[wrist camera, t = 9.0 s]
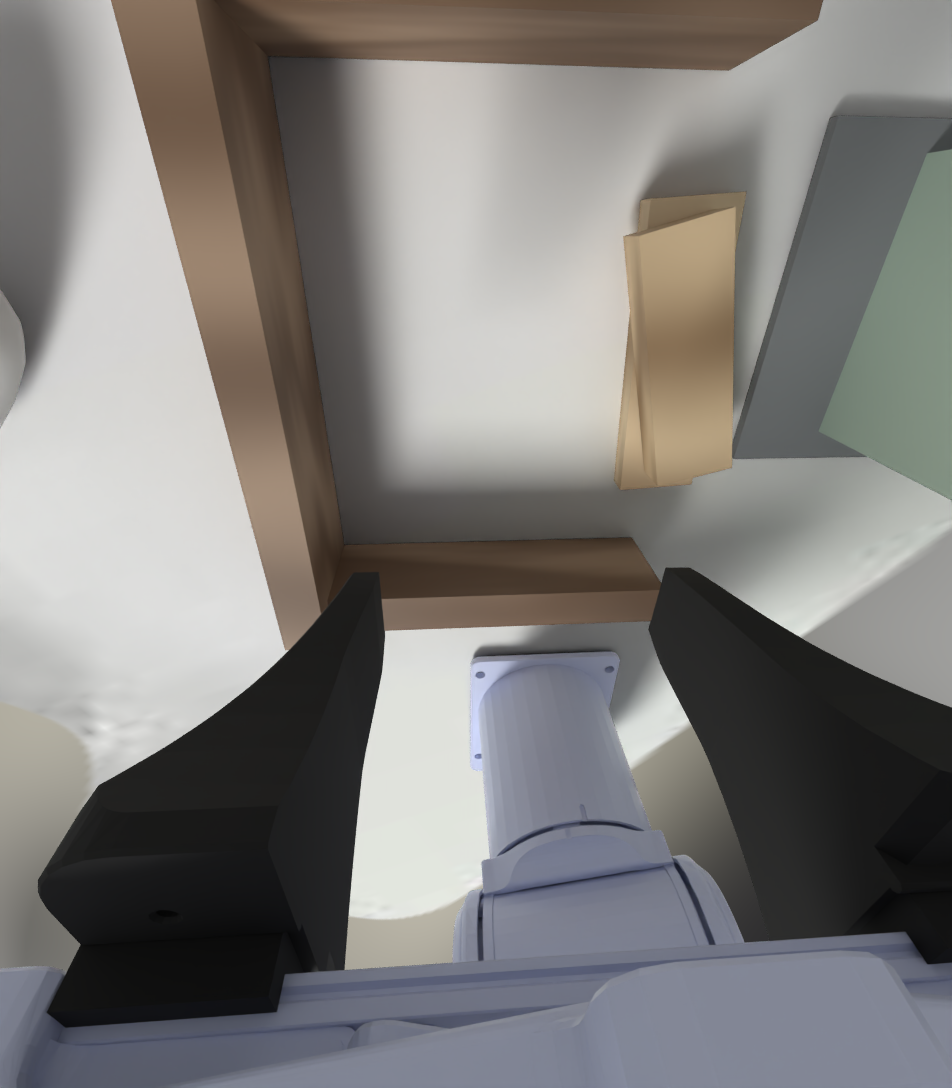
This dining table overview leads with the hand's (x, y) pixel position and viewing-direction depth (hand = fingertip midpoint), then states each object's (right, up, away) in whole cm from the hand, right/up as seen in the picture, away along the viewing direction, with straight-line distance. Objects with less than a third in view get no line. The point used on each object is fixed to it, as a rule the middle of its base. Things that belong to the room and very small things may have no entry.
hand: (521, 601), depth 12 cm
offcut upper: (+6, +8, +5) cm, 11 cm away
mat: (+14, +10, +6) cm, 18 cm away
